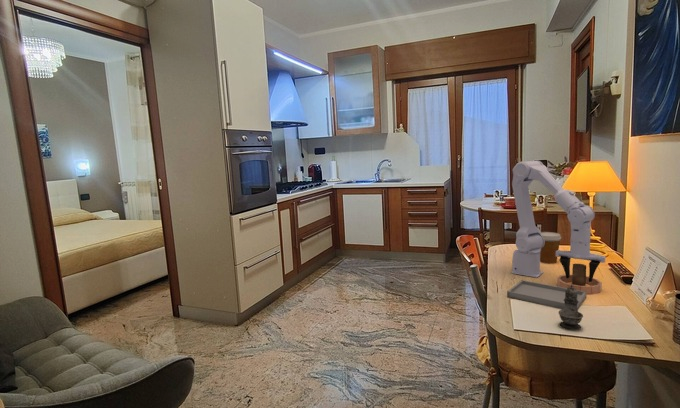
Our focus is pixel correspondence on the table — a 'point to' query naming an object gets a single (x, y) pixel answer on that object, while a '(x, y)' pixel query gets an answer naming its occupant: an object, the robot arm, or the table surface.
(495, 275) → the table surface
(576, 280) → the dowel
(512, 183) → the robot arm
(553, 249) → the disposable coffee cup
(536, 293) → the tray
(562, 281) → the pinkish brown ring
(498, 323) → the table surface
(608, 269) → the table surface
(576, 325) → the dark grey figurine
